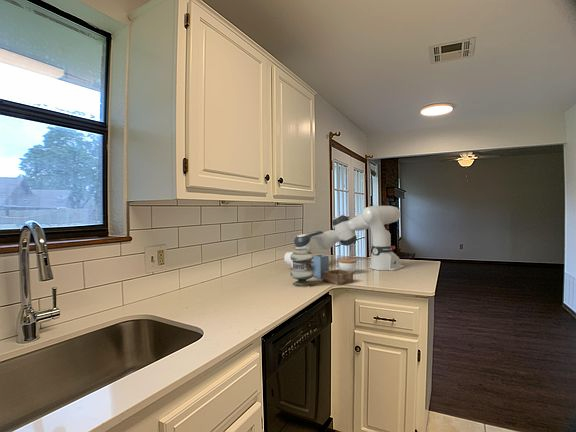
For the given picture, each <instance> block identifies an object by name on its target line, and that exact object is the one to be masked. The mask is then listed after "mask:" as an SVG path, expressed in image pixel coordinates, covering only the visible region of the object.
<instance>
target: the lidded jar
mask: <svg viewBox="0 0 576 432" xmlns="http://www.w3.org/2000/svg"><path fill="white" fill-rule="evenodd" d="M337 261H338V269H339V270H344V271H349V272H353V273H354V272H355V271H356V269H357V266H358V264H357V263H358V260H357V259H355V258H349V256H346V258H339V259H338V260H337Z"/></svg>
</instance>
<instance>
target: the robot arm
mask: <svg viewBox="0 0 576 432" xmlns="http://www.w3.org/2000/svg"><path fill="white" fill-rule="evenodd" d="M400 218H401V212H400V209H399V208H398V207H396V206H392V205H371V206H367V207H364V208H363V210H362V212H361V213H359V214H356V215H355V216H354V217H353V218H350V216H347V215H344V214H342V215H341V214H340V215H337V216H335V217H334V218H333V219H332V222H331V223H332V226H333V228H334V230H333V229H330V230H326V231H324V232H323V231H321V230H317V231H312V232H307V233H301V234H298V235H296V236H295V238H294V240H293V242H294V245H295V249H298V248H308V249H310V252H311V253H312V254H313V256H315V254H314V251H313V247H312V240H314V243H315V245H316V246H317V247H318V248H319V249H321V250H324V251H327V250H329V249H330V248H332V247H334V245H336V244H337V243H339V245H343V246H345V247H346V246H348V247H349V246H352V245H354V244H355V243H356V242H357V240H358V237H357V235H356V233H355V232H356V231H357V232H359V231H360V232H361V231H365V230H368V229H370V232H371V244H372V245H371V247H370V248H371V254H370V261H369V265H368V267H369V269H372V270H377V271H396V270H399V269H402V268H404V267H405V266H404V265H403V264H401V263H400V257H399V256H398V255H397V254H396V253H395V252H393V250H395V249H396V245H391V244H392V242H391V240H392V239H391V235H392V234H391V233H390V231H389V230H387V229H386V228H385V225H388V224H392V223H395V222H398V221H399V220H400ZM291 254H293V251H287V252H285V254H284V258H283V259H284V263H285V264H286V265H288V266H290V267H291V269H293V261H292V260H291V258H290V256H291ZM311 265H312V268H313V260H311Z"/></svg>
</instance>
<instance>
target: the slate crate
mask: <svg viewBox="0 0 576 432" xmlns="http://www.w3.org/2000/svg"><path fill="white" fill-rule="evenodd" d="M329 263H330V261H329V255H326V254H314V258H313V267H312V268H313V269H312V270H313V271H314V276H313V277H312V278H314V279H318V280H323V272H325V271H330V266H329Z"/></svg>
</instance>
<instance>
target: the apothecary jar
mask: <svg viewBox="0 0 576 432" xmlns="http://www.w3.org/2000/svg"><path fill="white" fill-rule="evenodd" d="M292 252H293V254H291V256H290V258H291V260H292V261H293V268H292V269H291V271H290V276H291V278H293V279H295V280H296V281H294V282H292V285H293V286H294V287H300V288H307V287H310V286H312V285H313V283H312V282H311V281H309V279H312V278H314V277H313V276H314V271H313V269H312V268H313V267H312V265H311V260H313V258H314V256H315V255H314V253H313V254H312V253H311V252H310V249H308V248H298V249H296V248H293V251H292ZM313 255H314V256H313Z"/></svg>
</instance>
